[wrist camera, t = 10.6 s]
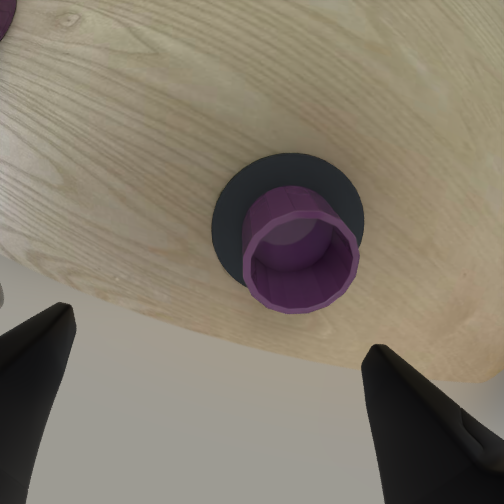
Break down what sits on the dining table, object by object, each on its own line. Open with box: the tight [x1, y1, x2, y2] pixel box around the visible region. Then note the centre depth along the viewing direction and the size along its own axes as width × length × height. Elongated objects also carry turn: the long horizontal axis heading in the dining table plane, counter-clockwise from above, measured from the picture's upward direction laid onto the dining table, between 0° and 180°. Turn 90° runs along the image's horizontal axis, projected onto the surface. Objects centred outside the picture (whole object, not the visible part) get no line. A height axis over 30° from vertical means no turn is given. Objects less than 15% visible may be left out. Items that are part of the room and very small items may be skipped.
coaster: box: [212, 153, 364, 288], centre depth 19 cm, size 10×10×1 cm
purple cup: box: [242, 185, 360, 314], centre depth 17 cm, size 6×6×4 cm
